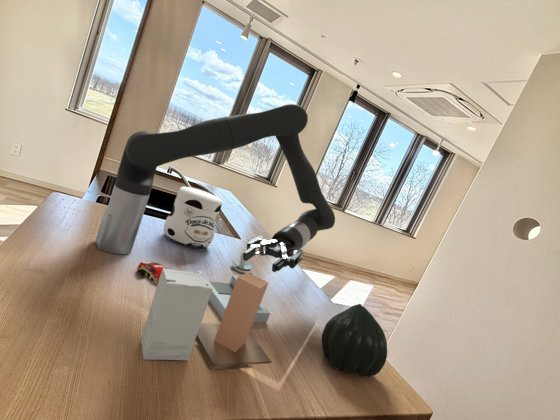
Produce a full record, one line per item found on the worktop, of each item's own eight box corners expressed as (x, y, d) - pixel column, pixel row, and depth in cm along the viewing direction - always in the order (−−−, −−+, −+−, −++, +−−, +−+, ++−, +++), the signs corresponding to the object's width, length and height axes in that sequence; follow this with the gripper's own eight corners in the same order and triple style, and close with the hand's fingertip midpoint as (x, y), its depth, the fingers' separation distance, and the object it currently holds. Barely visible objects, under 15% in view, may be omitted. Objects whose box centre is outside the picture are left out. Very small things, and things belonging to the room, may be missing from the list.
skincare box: (182, 342, 70) (207, 273, 68) (188, 363, 65) (215, 288, 63) (137, 339, 66) (162, 265, 64) (140, 361, 61) (167, 281, 59)
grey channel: (222, 324, 82) (227, 311, 81) (193, 282, 98) (197, 271, 97) (265, 326, 89) (270, 313, 88) (232, 286, 105) (236, 275, 104)
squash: (390, 381, 74) (401, 312, 82) (320, 353, 75) (337, 289, 84) (369, 391, 85) (380, 330, 94) (309, 367, 87) (325, 309, 95)
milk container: (194, 256, 118) (212, 204, 115) (150, 235, 122) (167, 184, 119) (217, 247, 135) (233, 202, 132) (177, 229, 138) (192, 185, 136)
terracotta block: (214, 340, 72) (237, 277, 70) (225, 331, 77) (247, 272, 75) (235, 352, 71) (260, 288, 69) (245, 342, 76) (268, 282, 74)
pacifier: (254, 275, 121) (246, 267, 126) (261, 259, 120) (252, 251, 125) (235, 273, 117) (228, 264, 122) (242, 256, 116) (234, 248, 121)
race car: (181, 294, 89) (186, 280, 89) (162, 297, 85) (168, 281, 84) (151, 269, 97) (156, 256, 96) (133, 270, 92) (138, 256, 92)
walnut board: (211, 369, 65) (213, 363, 65) (188, 328, 76) (190, 322, 76) (269, 366, 73) (271, 361, 73) (241, 329, 83) (243, 324, 83)
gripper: (270, 219, 103) (235, 240, 90) (316, 233, 96) (284, 258, 83) (269, 243, 106) (235, 266, 93) (313, 258, 99) (282, 286, 86)
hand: (258, 262), depth 88 cm, fingers open, 8 cm apart
